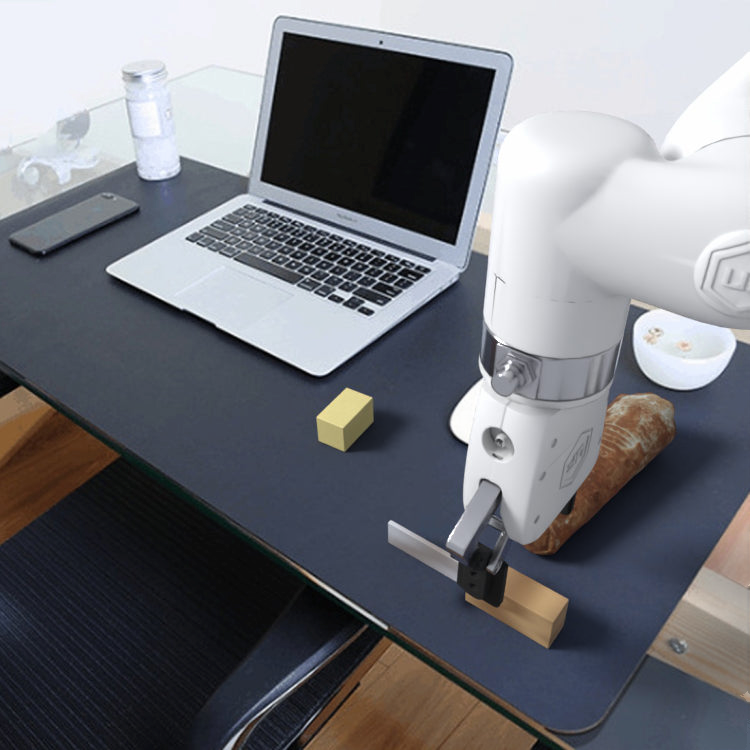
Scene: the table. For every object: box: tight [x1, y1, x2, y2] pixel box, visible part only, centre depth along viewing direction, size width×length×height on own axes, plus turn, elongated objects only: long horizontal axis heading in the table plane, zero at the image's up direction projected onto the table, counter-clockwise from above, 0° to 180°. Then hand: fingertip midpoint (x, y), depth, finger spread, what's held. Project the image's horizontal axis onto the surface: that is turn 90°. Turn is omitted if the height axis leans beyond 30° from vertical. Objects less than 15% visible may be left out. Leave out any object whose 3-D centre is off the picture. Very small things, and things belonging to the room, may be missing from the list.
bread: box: [522, 391, 677, 556], centre depth 67 cm, size 6×19×6 cm, turn 135°
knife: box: [387, 519, 570, 650], centre depth 60 cm, size 15×2×3 cm, turn 52°
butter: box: [315, 387, 374, 453], centre depth 74 cm, size 5×3×3 cm, turn 148°
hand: (517, 546), depth 55 cm, fingers open, 9 cm apart
